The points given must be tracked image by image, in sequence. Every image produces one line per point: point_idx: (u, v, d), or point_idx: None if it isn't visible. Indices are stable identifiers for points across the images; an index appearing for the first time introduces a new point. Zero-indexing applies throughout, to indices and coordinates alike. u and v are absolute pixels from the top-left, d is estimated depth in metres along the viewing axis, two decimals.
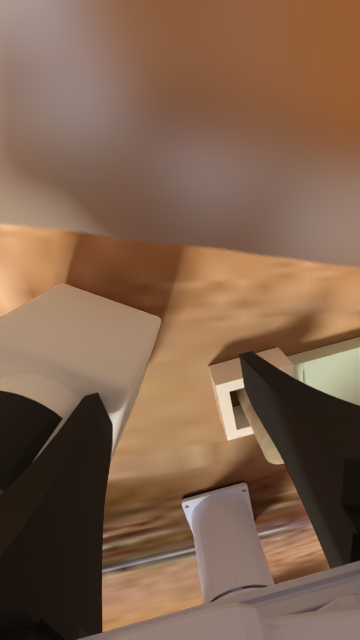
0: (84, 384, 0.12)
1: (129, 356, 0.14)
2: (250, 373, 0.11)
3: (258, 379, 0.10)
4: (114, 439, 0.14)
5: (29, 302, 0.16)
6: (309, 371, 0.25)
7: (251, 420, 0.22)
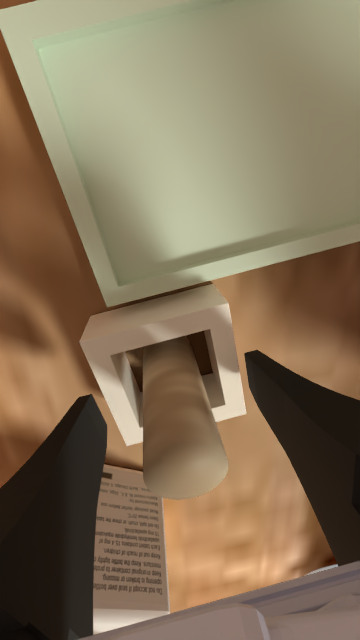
0: None
1: None
2: (256, 372, 0.11)
3: (264, 377, 0.10)
4: (96, 614, 0.12)
5: None
6: (132, 257, 0.12)
7: None
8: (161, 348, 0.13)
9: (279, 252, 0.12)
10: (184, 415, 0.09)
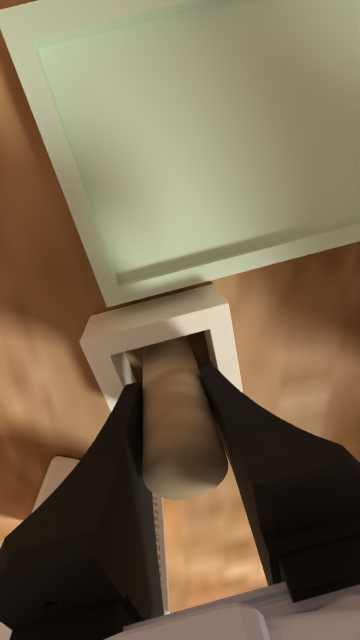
0: None
1: None
2: (205, 385, 0.11)
3: (209, 392, 0.10)
4: None
5: None
6: (132, 257, 0.12)
7: None
8: (161, 348, 0.13)
9: (279, 252, 0.12)
10: (184, 416, 0.09)
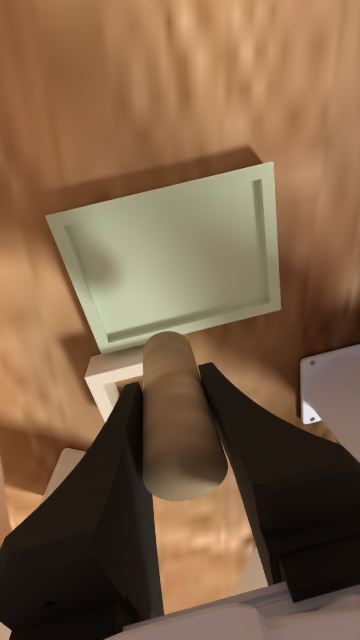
0: None
1: None
2: (205, 385, 0.11)
3: (209, 392, 0.10)
4: None
5: None
6: (117, 324, 0.20)
7: None
8: (162, 349, 0.13)
9: (207, 322, 0.20)
10: (186, 418, 0.09)
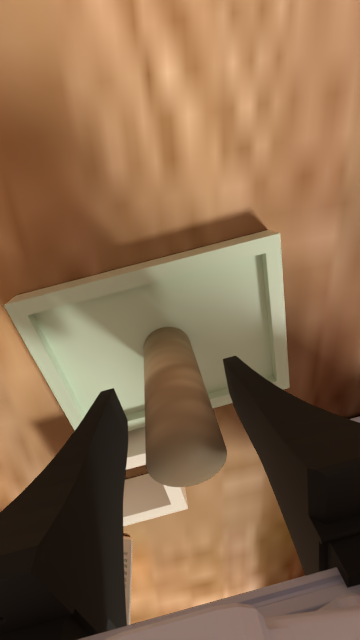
0: None
1: None
2: (232, 378, 0.11)
3: (238, 384, 0.10)
4: None
5: None
6: None
7: None
8: (163, 344, 0.14)
9: None
10: (187, 407, 0.10)
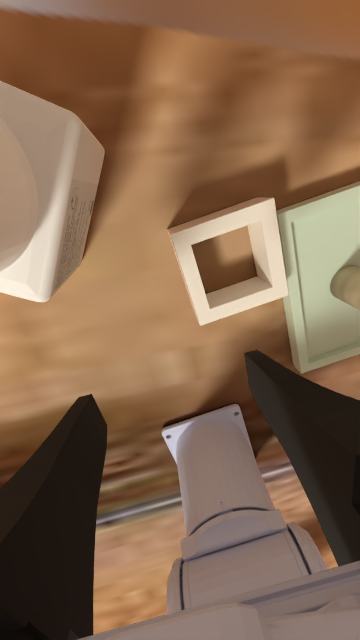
0: (15, 106, 0.09)
1: None
2: (256, 371, 0.11)
3: (264, 377, 0.10)
4: (61, 224, 0.11)
5: None
6: (301, 230, 0.19)
7: None
8: None
9: (298, 317, 0.22)
10: None
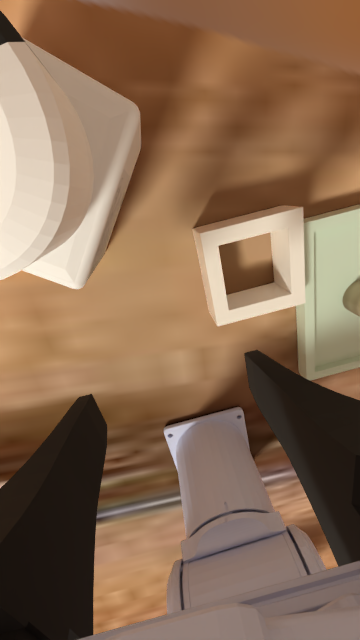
0: (80, 91, 0.09)
1: None
2: (256, 371, 0.11)
3: (264, 377, 0.10)
4: (107, 212, 0.11)
5: None
6: (322, 241, 0.20)
7: None
8: None
9: (310, 326, 0.22)
10: None
